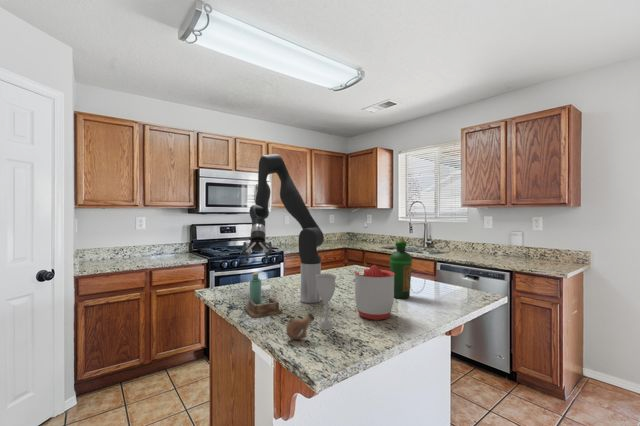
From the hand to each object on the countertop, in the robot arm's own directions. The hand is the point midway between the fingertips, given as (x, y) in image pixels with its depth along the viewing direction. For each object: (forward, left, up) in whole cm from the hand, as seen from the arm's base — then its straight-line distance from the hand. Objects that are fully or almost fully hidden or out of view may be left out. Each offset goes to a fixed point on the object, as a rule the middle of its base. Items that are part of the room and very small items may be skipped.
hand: (256, 260), depth 151 cm
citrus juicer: (-54, +21, -17) cm, 60 cm away
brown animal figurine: (-30, +48, -17) cm, 59 cm away
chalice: (-37, +36, -17) cm, 54 cm away
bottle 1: (-3, +10, -17) cm, 20 cm away
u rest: (-10, +22, -17) cm, 29 cm away
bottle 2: (-69, -8, -17) cm, 71 cm away
